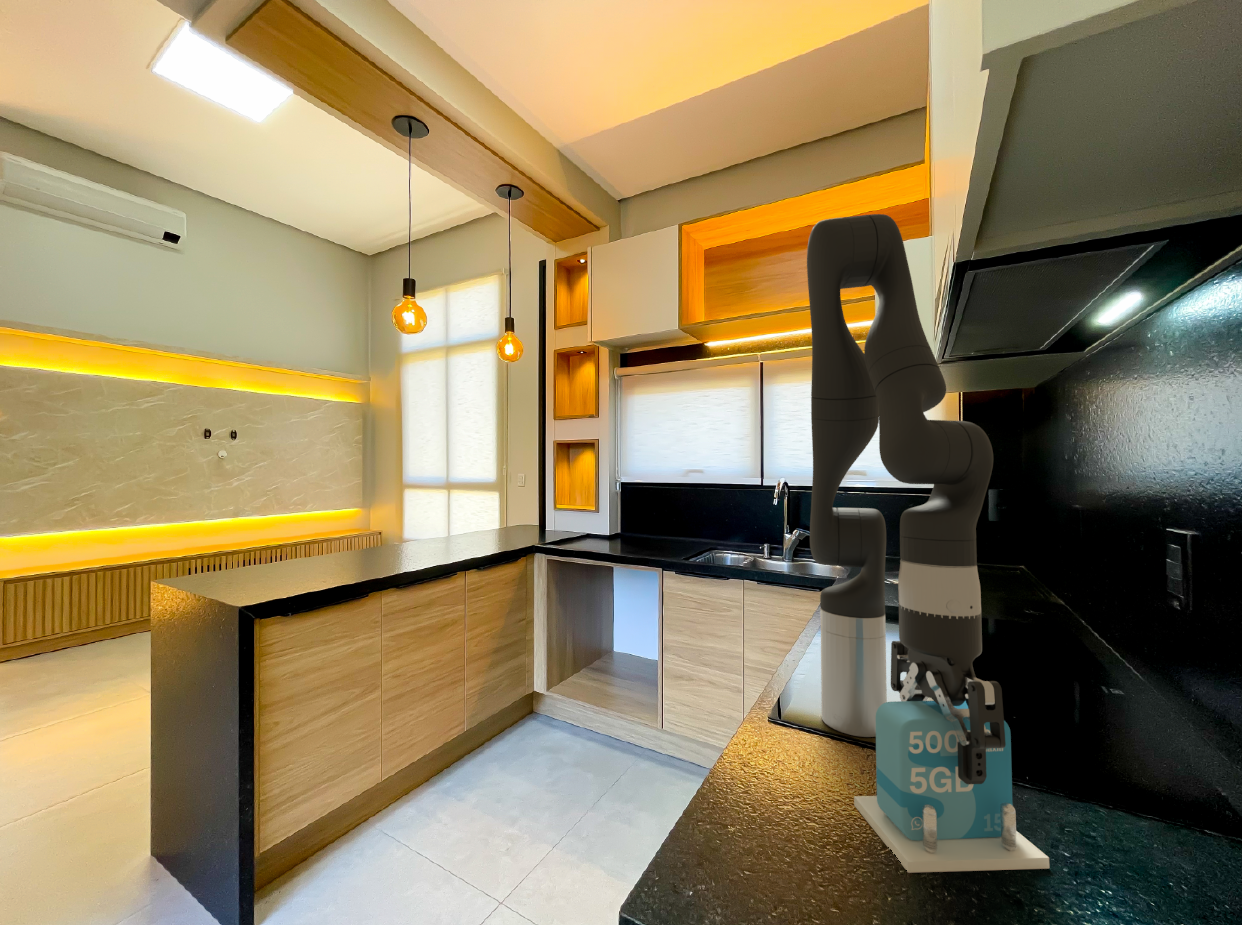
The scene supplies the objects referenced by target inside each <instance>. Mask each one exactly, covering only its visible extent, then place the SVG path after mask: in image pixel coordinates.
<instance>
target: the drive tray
mask: <svg viewBox="0 0 1242 925" xmlns="http://www.w3.org/2000/svg"><path fill="white" fill-rule="evenodd" d="M853 800H854V801H853V806H854V807H855V808H856V810H857V811H858V812H859V813H860V814H861V816H862V817H863V819H865V821H866V822H867V823H868V825H869V826H870V828H872V830H873V831H874V832H875V833H876V834H877V835H878V837H879V838H880V839H881V841H882V842H883V843H884V845H885V846H886V847H887V848H888V847H889V848H888V849H889V850H890V849H891V850H892V852H893V853H892V852H891V853H892V854H893V855H894V854H895V855H896V857H897V858H898V859H897V858H896V857H895V858H896V859H897V861H898V860H899V861H900V862H901V863H900V862H899V861H898V862H899V863H900V864H901V866H902V867H903V868H904V870H907V871H906V872H907V873H911V874H912V873H933V872H934V873H938V872H939V873H943V872H947V873H948V872H973V871H974V872H975V871H976V872H977V871H978V872H979V871H980V872H981V871H1002V870H1003V871H1004V870H1006V871H1007V870H1008V871H1009V870H1011V871H1013V870H1040V869H1041V870H1043V869H1044V870H1047V869H1050V857H1049V856H1048V855H1046V854H1045V853H1044V852H1043V851H1042V850H1040V848H1038V847H1037V846H1036V845H1034V844H1033V843H1032V842H1031V841H1030V840H1028V839H1027V838H1026V837H1025V836H1023V834H1021V833H1020V832H1018V831H1017V830H1016V845H1017V846H1016V849H1015V850H1014V851H1009V850H1007V849H1006V848H1004V846H1003V845H1002V843H1001V837H989V838H966V839H943V840H937V851H936V852H935V853H930V852H928V851H927V850H926V849H925V848H924V846H923V840H920V841H915V840H911V839H909V838H907V837H906V836H905V835H904V834H903V833H902V832H901V831H900V830H899V828H898V827H897V826H896V825H895V824H894V823H893V822H892V821H891V820H890V819H889V817H888V816H887V815H886V814H885V813H884V812H883V811H882V810H881V809H880V807H879V805H878V803H877V795H861V796H859V795H856V796H855V795H854V796H853Z"/></svg>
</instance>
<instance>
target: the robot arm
mask: <svg viewBox="0 0 1242 925" xmlns="http://www.w3.org/2000/svg"><path fill="white" fill-rule="evenodd" d="M906 253H907V252H906V248H905V244H904V240H903V236H902V234H901V231H900V229H899V226H898V225H897V222H896V221H895V220H894V219H893V218H892V217H891V216H890V215H887V214H884V213H883V214H881V213H877V214H876V213H874V214H873V213H872V214H863V215H855V216H853V215H852V216H844V217H834V218H833V217H832V218H828V219H823V220H819V221H818V222H817V223H815V225H814V226H813V227H812V229H811V231H810V234H809V237H808V243H807V250H806V272H807V273H806V274H807V287H808V301H809V311H810V314H809V315H810V324H811V350H812V352H811V389H810V391H811V394H810V395H811V397H810V399H811V400H810V401H811V402H810V405H811V406H810V407H811V410H810V411H811V412H810V413H811V415H810V416H811V419H810V420H811V422H810V423H811V440H812V441H811V442H812V445H811V446H812V484H811V485H812V488H811V503H810V504H811V505H810V518H809V519H810V520H809V548H810V552H811V553H810V554H811V556H812V558H813V561H814V562H816V563H817V564H818V565H821V566H832V567H833V566H834V567H846V568H848V567H849V568H860V569H861V570H860V573H859V574H857V575H856V576H854V577H853V578H852V579H850V580H847V581H845V582H842V583H839V584H835V585H832V586H831V585H830V586H828V587H825V588H823V589H822V590H821V591H820V594H819V596H820V598H819V602H820V603H819V605H820V610H819V611H820V613H819V614H820V673H821V674H820V678H821V679H820V680H821V681H820V683H821V692H820V694H821V698H820V700H821V704H820V705H821V706H820V707H821V719H822V721H823V722H824V724H826V725H827V726H828V727H830V728H831V729H833V730H835V731H837V732H840V733H842V734H843V733H844V734H846V735H851V736H855V737H863V738H871V737H872V738H873V737H875V738H876V712H877V709H878V708H879V707H880V706H881V705H882V704H883V703H886V702H888V700H887V699H888V696H887V695H888V694H887V690H888V689H887V687H888V686H887V644H886V643H887V638H886V637H887V636H886V633H887V632H886V587H885V586H886V585H885V584H886V581H885V576H886V554H887V553H886V552H887V527H886V521H885V518H884V516H883V514H882V512H881V511H880V510H878V509H876V508H872V507H871V508H869V507H867V508H866V507H862V508H861V507H833V506H834V502H835V497H836V495H837V492H838V490H839V487H840V485H841V483H842V481H843V480H844V479H845V477H846V475H847V473H848V471H849V470H850V469H851V467H852V466H853V464H854V463H855V462H856V461H857V459H858V458H859V457H860V455H862V453H863V452H864V450H865V449H866V448H867V446H868V445H869V443H870V442H871V440H872V439H873V437H874V435H875V434H876V432H877V430H879V433H878V434H879V442H878V444H879V447H878V448H879V456H880V460H881V462H882V464H883V466H884V468H885V470H886V471H887V472H888V473H889V475H891V476H892V478H894V479H896V480H897V481H899V482H901V483H903V484H908V485H933V488H932V491H931V492H930V496H929V498H928V500H927V501H926V502H925V503H924V504H921V505H917V506H914V507H910V508H906V509H905V510H904V511H903V512H902V513H901V514H900V515H901V516H900V520H899V555H900V556H899V558H900V560H899V563H900V564H899V570H898V578H897V580H898V581H897V582H898V584H897V588H898V591H897V593H898V598H897V599H898V640H892V641H891V644H890V650H891V651H890V658H891V659H890V687H891V690H892V691H893V692H898V694H899V699H900V701H928V699H932V701H935V702H936V703H937V704H938V705H940V707H941V710H942V712H943V715H944V717H945V718H946V719H948V720H949V721H951V723H952V725H953V727H954V730H955V732H956V735H957V737H958V740H959V742H957V745H958V777H959V779H961V780H962V781H963V782H964V783H966V784H982V783H984V781H985V780H986V777H987V775H986V749H987V748H1004V747H1005V745H1006V742H1005V729H1004V721H1005V716H1004V715H1005V714H1004V704H1003V691H1002V690H1003V689H1002V687H1001V685H1000V683H999V682H998V681H996V680H989V681H988V680H986V681H985V680H982V679H980V678H977V677H976V676H977V675H976V674H975V671H974V667H973V662H974V661H975V659H976V658H978V657H979V656H980V655H981V654H982V652H983V635H982V633H983V632H982V630H983V629H982V598H981V597H982V596H981V594H982V592H981V583H980V579H979V578H980V577H979V572H978V565H977V564H978V562H977V560H978V559H977V557H978V554H977V530H976V528H977V524H978V520H979V517H980V515H981V511H982V509H983V505H984V502H985V497H986V494H987V490H988V487H989V484H990V480H991V476H992V473H993V472H992V471H993V468H994V452H993V447H992V443H991V441H990V439H989V436H988V435H987V433H986V432H985V431H984V429H983V428H982V427H980V426H979V425H977V424H976V423H973V422H971V421H965V420H947V419H946V420H943V419H942V420H941V419H940V420H939V419H928V418H927V417H926V415H925V414H924V413H926V412H928V411H930V410H932V409H934V408H936V406H938V405H939V404H940V403H941V402H942V401H943V400H944V398H945V396H946V394H947V384H946V380H945V378H944V375H943V373H942V371H941V369H940V366H939V364H938V361H937V359H936V357H935V355H934V352H933V350H932V348H931V346H930V344H929V341H928V339H927V336H926V334H925V330H924V329H923V325H922V323H921V318H920V315H919V311H918V306H917V301H916V296H915V291H914V290H915V289H914V286H913V280H912V276H911V272H910V267H909V266H910V265H909V261H908V257H907V254H906ZM869 286H870V287H872V288H873V289H874V290H875V293H876V295H877V297H878V306H877V310H876V313H875V316H874V318H873V321H872V323H871V326H870V327H869V329H868V332H867V336H866V338H865V343H864V349H863V350H862V349H861V346H860V345H859V344H858V342H857V341H856V340H855V337H853V334H852V333H851V331H850V329H849V327H848V325H847V322H846V320H845V315H844V310H843V304H842V299H841V298H842V297H841V290H843V289H844V290H845V289H852V288H864V287H869ZM902 673H906V674H905V675H906V676H905V677H904V678H903V679H902V680H901V675H902ZM965 701H966V703H967V706H968V709H957V708H955V707H954V706H960V705H962V704H963V703H964V702H965ZM963 720H969V721H970V731H967V729H966V726H965V724H964V722H963ZM986 722H990V733H988V732H987V730H986V728H985V725H984V724H985V723H986Z"/></svg>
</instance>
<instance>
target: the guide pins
mask: <svg viewBox="0 0 1242 925" xmlns="http://www.w3.org/2000/svg"><path fill="white" fill-rule="evenodd" d="M1016 814H1017V813H1016V808H1015V807H1014V805H1013V806H1012V805H1011V804H1009V803H1006V802H1004V803H1002V804H1001V806H1000V817H1001V843H1002V845H1003V846H1004V848H1006V849H1007V850H1009V851H1014V850H1015V849H1016V846H1017V845H1016V831H1017V820H1016V819H1017V818H1016V817H1017V815H1016ZM922 823H923V846H924V848H925V849H926V850H927V851H928V852H930V853H935V852H936V851H937V813H936V810H935V808H934V807H933V806H931V805H929V804H926V805H924V806H923V808H922Z"/></svg>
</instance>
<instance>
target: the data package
mask: <svg viewBox="0 0 1242 925" xmlns="http://www.w3.org/2000/svg"><path fill="white" fill-rule="evenodd" d="M954 707H955V708H957V709H968V706H967V703H966V701H965V702H964V703H963V704H962V705H960V706H954ZM963 722H964V724H965V726H966V729H967V731H970V721H969V720H963ZM984 725H985V728H986V730H987V732H988V733H990V722H986V723H985V724H984ZM1004 729H1005V742H1006V745H1005V747H1004V748H987V749H986V775H987V777H986V780H985V781H984V783H982V784H966V783H964V782H963V781H962V780H961V779H959V777H958V745H957V742H959V740H958V737H957V735H956V732H955V730H954V727H953V725H952V723H951V721H949V720H948V719H946V718H945V717H944V715H943V712H942V710H941V707H940V705H938V704H937V703H936V702H935V701H934V700H927V701H901V700H900V701H887V702H886V703H883V704H882V705H881V706H880V707H879V708H878V709H877V712H876V736H875V758H876V760H875V761H876V762H875V763H876V766H875V767H876V768H875V769H876V771H875V772H876V773H875V774H876V775H875V776H876V796H877V803H878V805H879V807H880V809H881V810H882V811H883V812H884V813H885V814H886V815H887V816H888V817H889V819H890V820H891V821H892V822H893V823H894V824H895V825H896V826H897V827H898V828H899V830H900V831H901V832H902V833H903V834H904V835H905V836H906V837H907V838H909V839H911V840H915V841H920V840H923V823H922V808H923V806H924V805H926V804H929V805H931V806H933V807H934V808H935V810H936V813H937V840H943V839H966V838H989V837H1001V817H1000V806H1001V804H1002V803H1004V802H1006V803H1009V804H1011V805H1012V806H1013V807H1014V804H1013V778H1012V776H1013V772H1012V771H1013V770H1012V742H1011V741H1012V740H1011V739H1012V736H1011V735H1012V734H1011V729H1010V727H1009V724H1008V722H1006V720H1004Z"/></svg>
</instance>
